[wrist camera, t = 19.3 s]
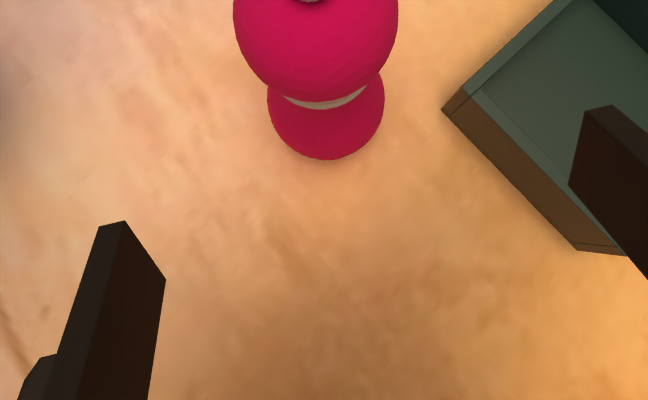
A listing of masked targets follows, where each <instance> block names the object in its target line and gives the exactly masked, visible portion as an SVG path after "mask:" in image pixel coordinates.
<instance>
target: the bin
mask: <svg viewBox="0 0 648 400" xmlns="http://www.w3.org/2000/svg"><path fill="white" fill-rule="evenodd" d="M611 104H613V105H614V106H615V107H616V108H618V109H619V110H620V111H621V112H622V113H624V114H625V115H626V116H627V117H629V118H630V119H631V120H632V121H633V122H635V123H636V124H637V125H638V126H639V127H641V128H642V129H643V130H644V131H646V132H647V133H648V0H553V1H552V2H551V3H550V4H549V5H548V6H547V7H546V8H545V9H544V10H543V11H542V12H541V13H540V14H538V15H537V16H536V17H535V18H534V19H533V20H532V21H531V22H530V23H529V24H528V25H527V26H526V27H525V28H523V29H522V30H521V31H520V32H519V33H518V34H517V35H516V36H515V37H514V38H513V39H512V40H511V41H510V42H508V43H507V44H506V45H505V46H504V47H503V48H502V49H501V50H500V51H499V52H498V53H497V54H496V55H495V56H493V57H492V58H491V59H490V60H489V61H488V62H487V63H486V64H485V65H484V66H483V67H482V68H481V69H480V70H478V71H477V72H476V73H475V74H474V75H473V76H472V77H471V78H470V79H469V80H468V81H467V82H466V83H465V84H463V85H462V86H461V87H460V89H459V90H458V91H457V92H456V93H455V94H454V95H453V96H452V97H451V99H450V100H449V101H448V102H447V103H446V104H445V105H444V106H443V107H442V109H441V110H442V111H443V113H444V114H445V115H446V116H447V117H448V118H449V119H450V120H451V121H452V122H453V123H454V124H455V125H456V126H457V127H458V128H459V129H460V130H461V131H462V132H463V133H464V134H465V135H466V136H467V137H468V138H469V139H470V140H471V141H472V142H473V143H474V144H475V146H476V147H477V148H478V149H479V150H480V151H481V152H482V153H483V154H484V155H485V156H486V157H487V158H488V159H489V160H490V161H491V162H492V163H493V164H494V165H495V166H496V167H497V168H498V169H499V170H500V171H501V172H502V173H503V174H504V175H505V176H506V177H507V179H508V180H509V181H510V182H511V183H512V184H513V185H514V186H515V187H516V188H517V189H518V190H519V191H520V192H521V193H522V194H523V195H524V196H525V197H526V198H527V199H528V200H529V201H530V202H531V203H532V204H533V205H534V206H535V207H536V208H537V209H538V210H539V212H540V213H541V214H542V215H543V216H544V217H545V218H546V219H547V220H548V221H549V222H550V223H551V224H552V225H553V226H554V227H555V228H556V229H557V230H558V231H559V232H560V233H561V234H562V235H563V236H564V237H565V238H566V239H567V240H568V241H569V242H570V243H571V245H572V246H573V247H574V248H575V249H576V250H578V251H586V252H594V253H602V254H610V255H618V256H626V257H627V255H626V254H625V252H624V251H623V250H622V249H621V248H620V247H619V245H618V244H617V243H616V242H615V241H614V239H613V238H612V237H611V236H610V235H609V234H608V232H607V231H606V230H605V229H604V228H603V227H602V225H601V224H600V223H599V222H598V221H597V219H596V218H595V217H594V216H593V215H592V214H591V212H590V211H589V210H588V209H587V208H586V206H585V205H584V204H583V203H582V202H581V201H580V199H579V198H578V197H577V196H576V195H575V193H574V192H573V191H572V190H571V189H570V188H569V186H568V181H569V176H570V172H571V168H572V163H573V159H574V155H575V150H576V146H577V142H578V137H579V133H580V129H581V124H582V120H583V116H584V112H585V111H586V110H590V109H594V108H598V107H602V106H607V105H611Z"/></svg>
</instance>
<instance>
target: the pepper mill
mask: <svg viewBox="0 0 648 400" xmlns="http://www.w3.org/2000/svg"><path fill="white" fill-rule="evenodd" d="M233 22H234V28H235V34H236V39H237V41H238V44H239V47H240V50H241V53H242V55H243V56H244V58H245V60H246V62H247V63H248V65H249V67H250V68H251V69H252V70H253V72H254V73H255V74H256V75H257V76H258V77H259V78H260V79H261V81H262V82H263V83H265V84H266V85H268V91H267V103H268V110H269V114H270V117H271V121H272V124H273V126H274V128H275V130H276V132H277V133H278V135H279V136H280V137H281V139H282V140H283V141H284V142H285V143H286V144H287V145H288V146H290V147H291V148H292V149H294V150H295V151H297V152H299V153H301V154H303V155H305V156H308V157H311V158H316V159H321V160H334V159H339V158H342V157H345V156H347V155H349V154H351V153H353V152H355V151H357V150H358V149H360V148H361V147H363V146H364V145H365V144H366V143H367V142H368V141H369V140H370V139H371V137H372V136H373V135H374V133H375V132H376V130H377V128H378V126H379V124H380V122H381V119H382V116H383V110H384V101H385V96H384V87H383V82H382V79H381V76H380V74H379V71H380V70H381V68H382V67H383V65H384V64H385V62H386V60H387V58H388V57H389V54H390V52H391V50H392V47H393V45H394V42H395V38H396V34H397V28H398V0H234V1H233Z"/></svg>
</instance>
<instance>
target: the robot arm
mask: <svg viewBox="0 0 648 400" xmlns="http://www.w3.org/2000/svg"><path fill="white" fill-rule="evenodd" d="M568 186H569V188H570V189H571V190H572V191H573V192H574V193H575V195H576V196H577V197H578V198H579V199H580V201H581V202H582V203H583V204H584V205H585V206H586V208H587V209H588V210H589V211H590V212H591V214H592V215H593V216H594V217H595V218H596V219H597V221H598V222H599V223H600V224H601V225H602V227H603V228H604V229H605V230H606V231H607V232H608V234H609V235H610V236H611V237H612V238H613V239H614V241H615V242H616V243H617V244H618V245H619V247H620V248H621V249H622V250H623V251H624V252H625V254H626V255H627V256H628V257H629V258H630V260H631V261H632V262H633V263H634V264H635V265H636V267H637V268H638V269H639V270H640V271H641V273H642V274H643V275H644V276H645V277H646V278H647V280H648V133H647V132H646V131H644V130H643V129H642V128H641V127H639V126H638V125H637V124H636V123H635V122H633V121H632V120H631V119H630V118H629V117H627V116H626V115H625V114H624V113H622V112H621V111H620V110H619V109H618V108H616V107H615V106H614V105H613V104H611V105H607V106H602V107H598V108H594V109H590V110H586V111H585V112H584V116H583V120H582V124H581V129H580V133H579V137H578V142H577V146H576V150H575V155H574V159H573V163H572V168H571V172H570V176H569V181H568ZM165 283H166V278H165V277H164V276H163V274H162V273H161V271H160V270H159V268H158V267H157V266H156V264H155V263H154V261H153V260H152V258H151V257H150V256H149V254H148V253H147V251H146V250H145V248H144V247H143V246H142V244H141V243H140V241H139V240H138V238H137V237H136V236H135V234H134V233H133V231H132V230H131V228H130V227H129V225H128V224H127V223H126V221H125V220H124V221H120V222H116V223H112V224H108V225H103V226H99V228H98V231H97V234H96V237H95V240H94V243H93V246H92V249H91V252H90V255H89V258H88V261H87V264H86V267H85V270H84V273H83V276H82V279H81V282H80V285H79V288H78V291H77V294H76V297H75V300H74V303H73V306H72V309H71V312H70V315H69V318H68V321H67V324H66V327H65V330H64V333H63V336H62V339H61V342H60V345H59V348H58V351H57V354H54V355H49V356H45V357H41V358H40V359H39V360H38V362H37V363H36V364H35V366H34V367H33V369H32V370H31V371H30V373H29V374H28V376H27V377H26V378H25V380H24V382H23V385H22V388H21V391H20V393H19V396H18V399H17V400H147V399H148V392H149V386H150V379H151V373H152V366H153V360H154V354H155V347H156V341H157V334H158V328H159V322H160V315H161V309H162V302H163V296H164V289H165Z"/></svg>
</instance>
